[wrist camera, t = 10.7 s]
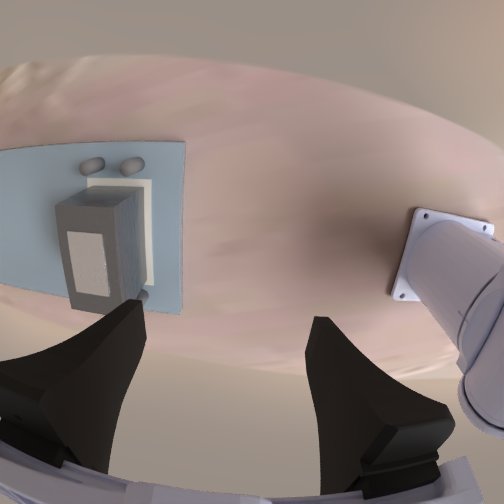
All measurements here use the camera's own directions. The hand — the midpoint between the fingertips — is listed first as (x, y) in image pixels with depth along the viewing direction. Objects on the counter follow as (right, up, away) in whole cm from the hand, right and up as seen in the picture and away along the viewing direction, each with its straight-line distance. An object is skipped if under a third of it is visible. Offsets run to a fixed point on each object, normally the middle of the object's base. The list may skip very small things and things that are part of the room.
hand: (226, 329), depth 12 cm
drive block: (-8, +4, +8) cm, 13 cm away
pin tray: (-14, +5, +9) cm, 17 cm away
